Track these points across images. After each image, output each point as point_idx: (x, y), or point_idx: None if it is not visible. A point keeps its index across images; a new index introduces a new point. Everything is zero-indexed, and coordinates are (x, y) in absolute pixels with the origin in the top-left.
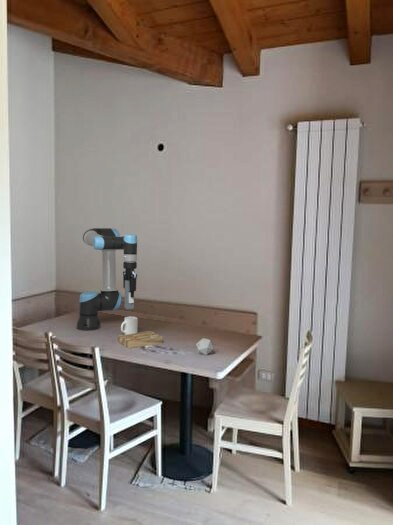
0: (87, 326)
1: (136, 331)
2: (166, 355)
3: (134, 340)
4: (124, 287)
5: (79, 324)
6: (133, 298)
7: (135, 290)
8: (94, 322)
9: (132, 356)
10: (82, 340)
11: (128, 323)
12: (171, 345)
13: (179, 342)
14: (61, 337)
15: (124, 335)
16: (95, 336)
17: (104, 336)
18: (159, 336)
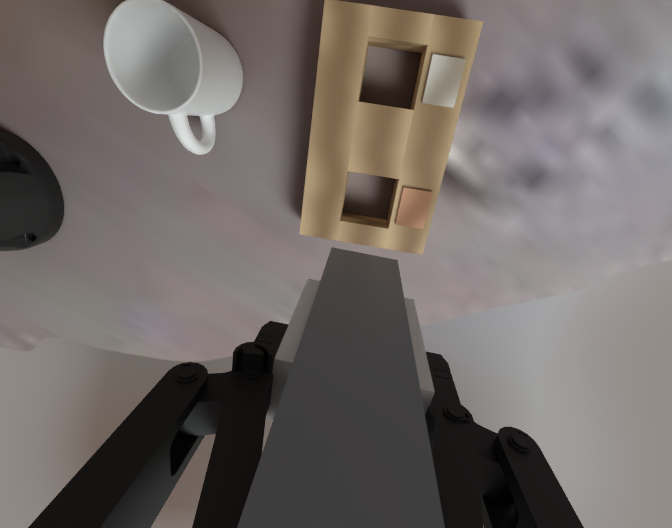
0: (44, 229)
1: (232, 52)
2: (635, 171)
3: (426, 222)
4: (203, 432)
5: (10, 250)
6: (419, 329)
7: (530, 448)
8: (21, 195)
9: (513, 296)
10: (203, 318)
11: (200, 106)
12: (545, 15)
13: None
14: (130, 352)
15: (316, 206)
16: (171, 249)
17: (188, 217)
18: (466, 41)
